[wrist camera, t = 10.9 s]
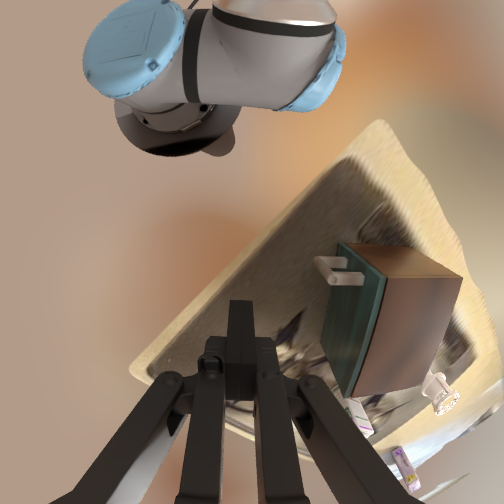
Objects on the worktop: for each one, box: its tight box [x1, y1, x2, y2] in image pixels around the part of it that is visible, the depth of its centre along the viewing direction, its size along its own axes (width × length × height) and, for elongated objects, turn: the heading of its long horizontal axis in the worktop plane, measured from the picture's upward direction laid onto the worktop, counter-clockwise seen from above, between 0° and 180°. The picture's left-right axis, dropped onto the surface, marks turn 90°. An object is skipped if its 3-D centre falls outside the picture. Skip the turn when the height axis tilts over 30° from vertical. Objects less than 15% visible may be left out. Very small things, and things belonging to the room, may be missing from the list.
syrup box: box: [331, 384, 374, 438], centre depth 49 cm, size 6×6×14 cm
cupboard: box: [344, 243, 463, 398], centre depth 41 cm, size 14×20×16 cm
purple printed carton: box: [391, 447, 420, 493], centre depth 62 cm, size 19×5×18 cm, turn 31°
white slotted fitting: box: [421, 370, 459, 415], centre depth 49 cm, size 7×7×15 cm
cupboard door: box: [313, 243, 386, 399], centre depth 40 cm, size 6×20×16 cm, turn 177°
